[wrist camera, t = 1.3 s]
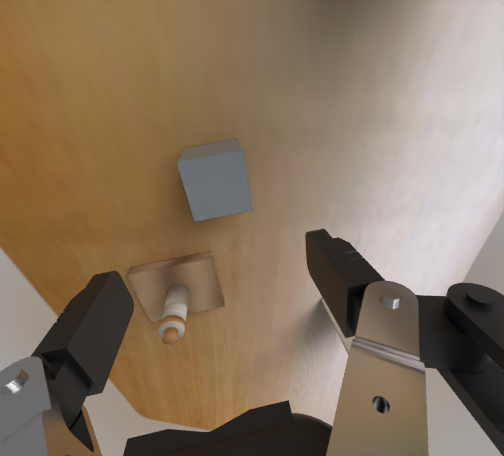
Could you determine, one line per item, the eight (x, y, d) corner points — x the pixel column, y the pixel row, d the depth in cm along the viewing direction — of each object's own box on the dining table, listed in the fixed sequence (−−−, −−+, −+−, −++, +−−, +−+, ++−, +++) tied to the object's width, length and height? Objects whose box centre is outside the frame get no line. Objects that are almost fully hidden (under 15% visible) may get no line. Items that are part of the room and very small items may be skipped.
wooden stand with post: (210, 251, 31) (209, 300, 23) (224, 297, 34) (226, 353, 27) (130, 267, 30) (102, 323, 23) (153, 312, 34) (135, 373, 26)
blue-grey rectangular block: (236, 138, 25) (243, 150, 19) (244, 186, 27) (252, 210, 21) (185, 147, 25) (176, 162, 19) (198, 195, 27) (194, 221, 21)
